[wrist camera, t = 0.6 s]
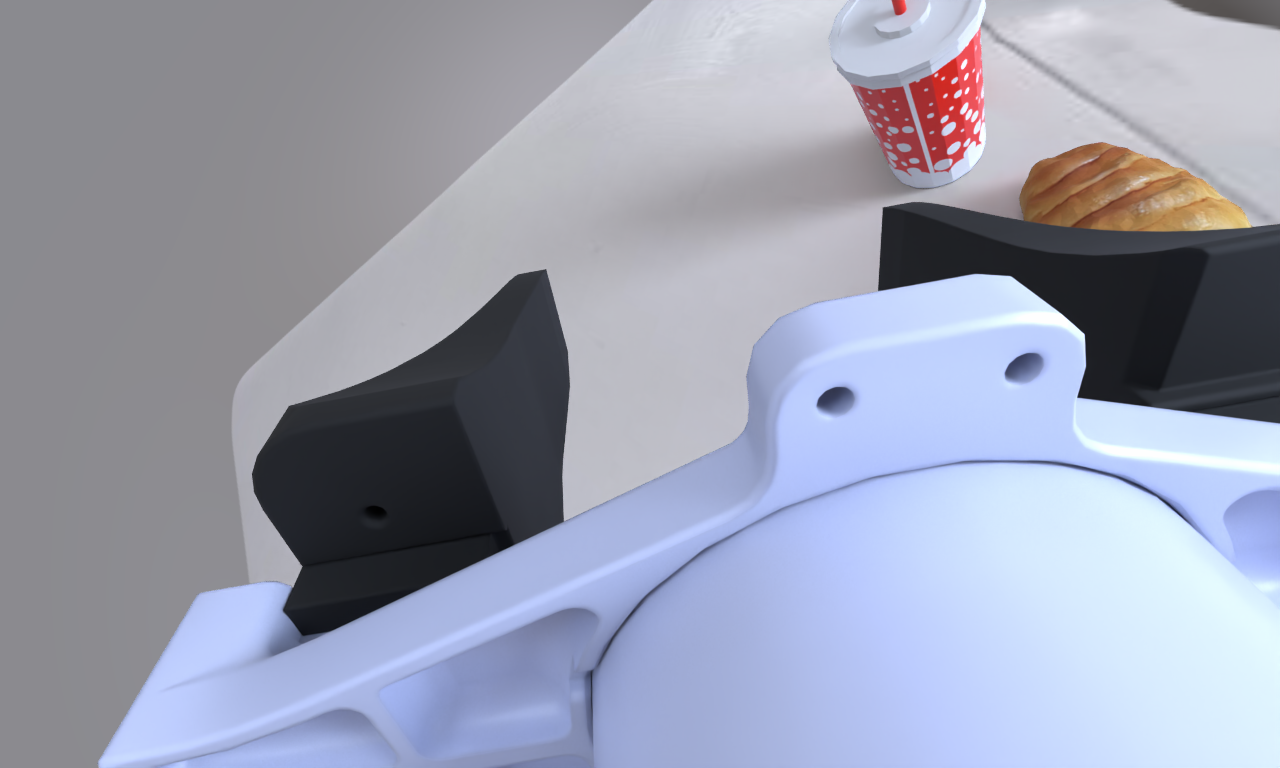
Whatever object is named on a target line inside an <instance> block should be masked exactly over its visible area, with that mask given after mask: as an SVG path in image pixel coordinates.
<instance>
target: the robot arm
mask: <svg viewBox="0 0 1280 768" xmlns="http://www.w3.org/2000/svg"><path fill="white" fill-rule="evenodd" d="M569 389H570V380H569V364H568V350H567V347H566V343H565V339H564V335H563V331H562V328H561V324H560V320H559V316H558V312H557V309H556V305H555V301H554V297H553V293H552V290H551V286H550V282H549V278H548V275H547V271H546V269H545V270H540V271H534V272H529V273H523V274H518V275H517V276H515V277H514V278H512V279H511V280H510V281H509V282H508V283H507V284H506V285H505V286H504V287H503V288H502V289H501V290H500V291H499V292H498V293H497V294H496V295H495V296H494V297H493V298H492V299H491V300H490V301H489V302H488V303H486V304H485V305H484V306H483V307H482V308H481V309H480V310H479V311H478V312H477V313H476V314H474V315H473V316H472V317H471V318H470V319H469V320H467V321H466V322H465V323H464V324H463V325H462V326H460V327H459V328H458V329H457V330H456V331H454V332H453V333H452V334H450V335H449V336H448V337H446V338H445V339H444V340H442V341H441V342H439V343H438V344H436V345H434V346H433V347H431V348H430V349H428V350H427V351H425V352H424V353H422V354H420V355H418V356H416V357H414V358H413V359H411V360H409V361H407V362H405V363H403V364H401V365H399V366H398V367H396V368H394V369H392V370H390V371H388V372H386V373H383V374H381V375H379V376H377V377H374V378H372V379H370V380H367V381H365V382H362V383H359V384H357V385H354V386H352V387H349V388H346V389H344V390H341V391H338V392H335V393H331V394H328V395H325V396H322V397H318V398H315V399H312V400H308V401H305V402H302V403H298V404H295V405H291V406H289V407H288V409H287V410H286V412H285V413H284V415H283V417H282V418H281V420H280V421H279V423H278V424H277V426H276V428H275V429H274V431H273V432H272V434H271V435H270V437H269V439H268V440H267V442H266V443H265V445H264V446H263V448H262V449H261V451H260V453H259V454H258V456H257V458H256V462H255V465H254V469H253V472H252V478H253V486H254V493H255V495H256V497H257V499H258V501H259V503H260V505H261V507H262V509H263V511H264V512H265V513H266V515H267V516H268V518H269V519H270V521H271V522H272V523H273V525H274V526H275V528H276V529H277V531H278V532H279V533H280V535H281V536H282V538H283V539H284V541H285V542H286V544H287V545H288V546H289V548H290V549H291V551H292V552H293V554H294V555H295V556H296V558H297V559H298V561H299V562H300V564H301V565H302V566H303V567H302V569H301V571H300V574H299V576H298V578H297V580H296V583H295V585H294V587H293V588H292V587H291V586H290V585H287V584H284V583H281V582H278V581H265V582H260V583H254V584H248V585H243V586H237V587H231V588H225V589H220V590H214V591H208V592H202V593H199V594H198V595H197V597H196V598H195V600H194V602H193V603H192V605H191V607H190V608H189V610H188V612H187V613H186V615H185V617H184V618H183V620H182V622H181V623H180V625H179V627H178V628H177V630H176V632H175V634H174V635H173V637H172V639H171V640H170V642H169V644H168V645H167V647H166V649H165V650H164V652H163V654H162V655H161V657H160V659H159V661H158V662H157V664H156V666H155V667H154V669H153V670H152V672H151V674H150V675H149V677H148V679H147V681H146V683H145V684H144V686H143V687H142V689H141V691H140V692H139V694H138V696H137V697H136V699H135V701H134V702H133V704H132V706H131V707H130V709H129V711H128V712H127V714H126V716H125V718H124V719H123V721H122V723H121V724H120V726H119V728H118V729H117V731H116V733H115V735H114V736H113V738H112V740H111V741H110V743H109V745H108V746H107V748H106V749H105V751H104V753H103V754H102V756H101V758H100V760H99V761H98V766H99V768H1280V224H1277V225H1268V226H1258V227H1249V228H1235V229H1217V230H1198V231H1116V230H1098V229H1086V228H1075V227H1064V226H1056V225H1048V224H1041V223H1035V222H1029V221H1022V220H1016V219H1011V218H1005V217H1000V216H995V215H990V214H985V213H980V212H975V211H970V210H965V209H960V208H955V207H950V206H945V205H939V204H933V203H923V202H911V203H906V204H900V205H895V206H889V207H884V208H883V216H882V233H881V251H880V268H879V285H878V292H872V293H867V294H861V295H856V296H850V297H845V298H839V299H834V300H828V301H823V302H817V303H813V304H811V305H809V306H806V307H804V308H801V309H799V310H797V311H794V312H792V313H789V314H787V315H785V316H782V317H780V318H778V319H777V320H776V321H775V323H774V324H773V325H772V326H771V327H770V328H769V329H768V330H767V331H766V332H765V334H764V335H763V336H762V337H761V338H760V339H759V340H758V341H757V342H756V343H755V345H754V346H753V351H752V355H751V359H750V364H749V368H748V372H747V389H748V401H749V413H748V422H747V425H746V427H745V430H744V431H743V433H742V434H741V435H740V436H739V437H738V438H737V439H736V440H735V441H733V442H732V443H730V444H728V445H726V446H724V447H722V448H719V449H717V450H715V451H713V452H711V453H709V454H707V455H705V456H702V457H700V458H698V459H696V460H694V461H692V462H690V463H688V464H685V465H683V466H681V467H679V468H677V469H675V470H673V471H671V472H668V473H666V474H664V475H662V476H660V477H658V478H656V479H654V480H651V481H649V482H647V483H645V484H643V485H641V486H639V487H637V488H634V489H632V490H630V491H628V492H626V493H624V494H622V495H620V496H617V497H615V498H613V499H611V500H609V501H607V502H605V503H603V504H600V505H598V506H596V507H594V508H592V509H590V510H588V511H586V512H583V513H581V514H579V515H577V516H575V517H573V518H571V519H569V520H566V521H564V515H563V486H562V470H563V454H564V444H565V433H566V423H567V413H568V401H569Z"/></svg>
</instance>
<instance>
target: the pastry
mask: <svg viewBox="0 0 1280 768" xmlns="http://www.w3.org/2000/svg"><path fill="white" fill-rule="evenodd" d="M1019 201H1020V206H1021V209H1022V213H1023V215H1024V221H1029V222H1035V223H1041V224H1048V225H1056V226H1064V227H1075V228H1086V229H1098V230H1116V231H1198V230H1217V229H1235V228H1249V227H1252V226H1251V224H1250V223H1249V221H1248V219H1247V217H1246V215H1245V213H1244V212H1243V210H1242V209H1241V208H1240V207H1239V206H1237V205H1235V204H1234V203H1232V202H1230V201H1229V200H1228V199H1226V198H1224V197H1222V196H1221V195H1219V194H1218V192H1217V191H1216V190H1215V189H1214V188H1213V187H1211V186H1210V185H1209V184H1208V183H1206V182H1205V181H1204V180H1202V179H1200V178H1196V177H1195V176H1193V175H1191V174H1190V173H1189V172H1188V171H1186V170H1184V169H1182V168H1174V167H1172V166H1170V165H1169V164H1167V163H1165V162H1163V161H1161V160H1159V159H1153V158H1148V157H1146V156H1144V155H1141V154H1138V153H1135V152H1133V151H1131V150H1129V149H1127V148H1123V147H1117V146H1113V145H1110V144H1107V143H1103V142H1102V143H1094V144H1088V145H1084V146H1080V147H1077V148H1075V149H1072V150H1070V151H1067V152H1065V153H1062V154H1060V155H1058V156H1056V157H1054V158H1047V159H1044V160H1042V161H1039V162H1038V163H1036V164H1035V165H1034V166H1033V167H1032V169H1031V171H1030V173H1029V176H1028V178H1027V180H1026V182H1025V184H1024V186H1023V188H1022V191H1021V193H1020V197H1019Z"/></svg>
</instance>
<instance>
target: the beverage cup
mask: <svg viewBox="0 0 1280 768" xmlns="http://www.w3.org/2000/svg"><path fill="white" fill-rule="evenodd" d="M985 7H986V4H985V0H848V2H847V3H846V4H845V6H844V7H843V8H842V9H841V11H840V12H839V13H838V15H837V16H836V19H835V21H834V24H833V27H832V30H831V33H830V36H829V43H830V50H831V57H832V60H833V62H834V63H835V64H836V65H837V70H838V71H839V72H840V73H841V74H842V76H843V77H844V78H845V79H846V80H847V81H848V82H849V83H850V84H851V86H852V88H853V90H854V92H855V94H856V96H857V98H858V101H859V103H860V105H861V107H862V109H863V111H864V113H865V115H866V117H867V120H868V122H869V124H870V126H871V128H872V130H873V132H874V134H875V136H876V138H877V141H878V143H879V145H880V147H881V149H882V151H883V153H884V155H885V157H886V159H887V162H888V164H889V166H890V168H891V170H892V172H893V174H894V175H895V176H896V177H897V178H898V179H899V180H900V181H901V182H902V183H904V184H907V185H909V186H912V187H915V188H935V187H938V186H942V185H945V184H948V183H951V182H954V181H955V180H957V179H958V178H960V177H961V176H963V175H964V174H966V173H967V172H969V171H970V170H971V169H972V167H973V166H974V165H975V164H976V162H977V161H978V160H979V159H980V157H981V156H982V153H983V149H984V146H985V142H986V135H985V115H984V94H983V74H982V54H981V33H980V24H981V21H982V18H983V14H984V11H985Z"/></svg>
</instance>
